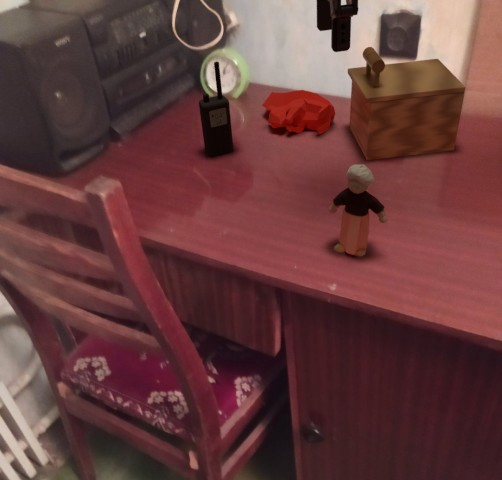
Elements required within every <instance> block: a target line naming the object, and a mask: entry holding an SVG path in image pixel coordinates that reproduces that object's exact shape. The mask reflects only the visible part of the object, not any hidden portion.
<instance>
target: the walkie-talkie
mask: <svg viewBox="0 0 502 480" xmlns="http://www.w3.org/2000/svg"><path fill="white" fill-rule="evenodd" d="M213 68H214V76H215V85H216V94H217V95H214V96H211V97H210V95H209V93H203V95H202V98H201V99H200V100H199V101H198V106H199V107H198V108H199V115H200V116H199V117H200V124H201V129H202V137H203V145H204V152H205V154H206V155H207V157H209V158H216V157H220V156H224V155H228V154H231V153H233V152H235V150H234V141H233V140H234V139H233V131H232V120H231V109H230V101H229V99H228V98H227V97H226V96H225V95H224V94H223V89H222V78H221V71H220V70H221V69H220V62H219V61H214V62H213Z"/></svg>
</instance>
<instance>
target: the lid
mask: <svg viewBox="0 0 502 480" xmlns="http://www.w3.org/2000/svg"><path fill="white" fill-rule="evenodd" d="M362 58H363V59H364V61H365V62H366V63H365V66H360V67H359V66H358V67H350V68H347V74H348V76H349V78H350V79H351V82H352V81H353V83H354V84H355V86H356V87H357V89H358V91H359V92H360V94H361V95H362V97H363V99H364V100H365V102H366V103H371V102H380V101H389V100H397V99H406V98H415V97H424V96H433V95H442V94H450V93H459V92H464V93H465V92H466V86H465V85H464V84H463V83H462V82H461V80H460V79H459V78H458V77H456V75H455V74H454V73H453V72H452V71H451V70H450V69H448V67H446V65H445V64H444V63H443V62H442V61H441V60H440V59H439V58H431V59H422V60H414V61H412V60H411V61H404V62H403V61H402V62H395V63H387V64H386V63H385V61H384V60H383V59H382V57H381V56H380V54H379V53H378V52H377V51H376V49H375V48H374V47H372V46H368V47H366V48H365V49H363V52H362Z"/></svg>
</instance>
